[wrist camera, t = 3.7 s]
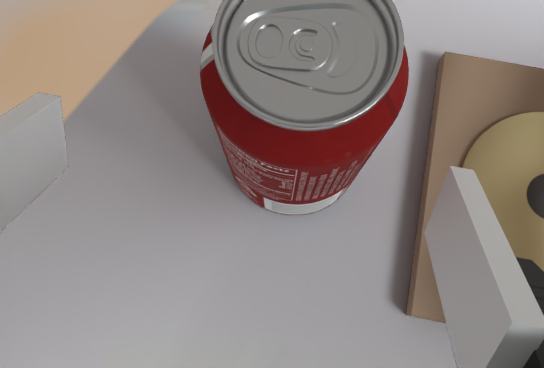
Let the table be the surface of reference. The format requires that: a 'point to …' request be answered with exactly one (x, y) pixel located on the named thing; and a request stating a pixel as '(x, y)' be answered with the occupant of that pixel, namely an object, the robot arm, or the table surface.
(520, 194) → the hole plate
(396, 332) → the table surface
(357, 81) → the soda can
